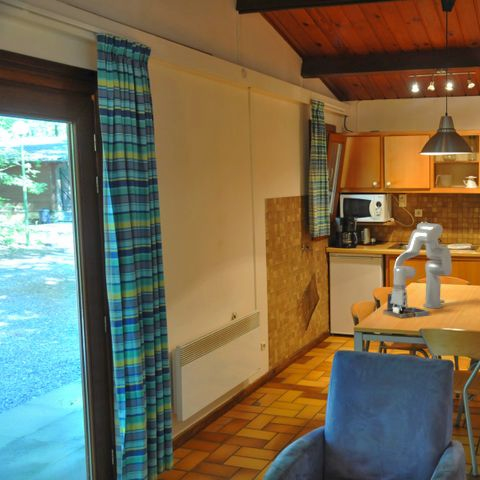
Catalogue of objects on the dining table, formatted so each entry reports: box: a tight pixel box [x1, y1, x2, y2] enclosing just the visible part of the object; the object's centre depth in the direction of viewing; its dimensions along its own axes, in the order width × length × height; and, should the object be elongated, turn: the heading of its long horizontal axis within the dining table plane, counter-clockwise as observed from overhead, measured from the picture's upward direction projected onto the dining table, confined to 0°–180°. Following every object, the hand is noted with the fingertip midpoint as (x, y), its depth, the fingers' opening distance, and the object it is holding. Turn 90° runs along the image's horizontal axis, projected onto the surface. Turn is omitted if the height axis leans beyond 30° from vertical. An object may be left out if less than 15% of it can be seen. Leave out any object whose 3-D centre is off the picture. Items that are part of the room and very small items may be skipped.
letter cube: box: [393, 307, 401, 314], centre depth 449 cm, size 5×5×5 cm
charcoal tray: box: [405, 306, 430, 318], centre depth 453 cm, size 11×15×3 cm
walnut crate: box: [382, 308, 414, 320], centre depth 449 cm, size 11×16×3 cm
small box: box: [386, 293, 405, 310], centre depth 466 cm, size 11×6×10 cm, turn 101°
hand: (398, 314), depth 449 cm, fingers closed on letter cube, 4 cm apart
